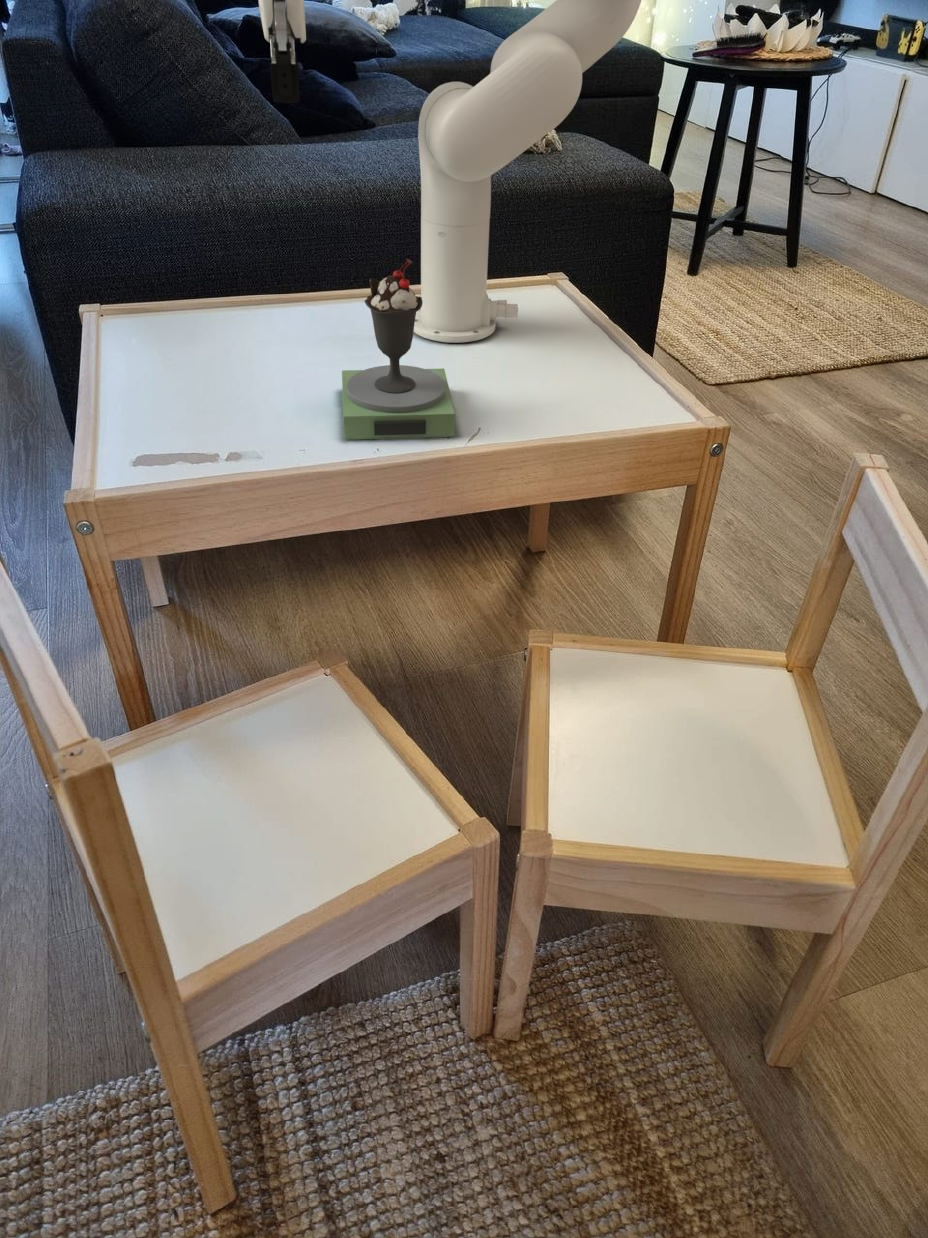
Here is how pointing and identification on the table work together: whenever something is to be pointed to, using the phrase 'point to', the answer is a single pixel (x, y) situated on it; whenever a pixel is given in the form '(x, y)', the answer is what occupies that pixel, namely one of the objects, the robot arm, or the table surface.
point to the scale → (397, 405)
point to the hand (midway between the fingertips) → (286, 94)
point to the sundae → (393, 325)
